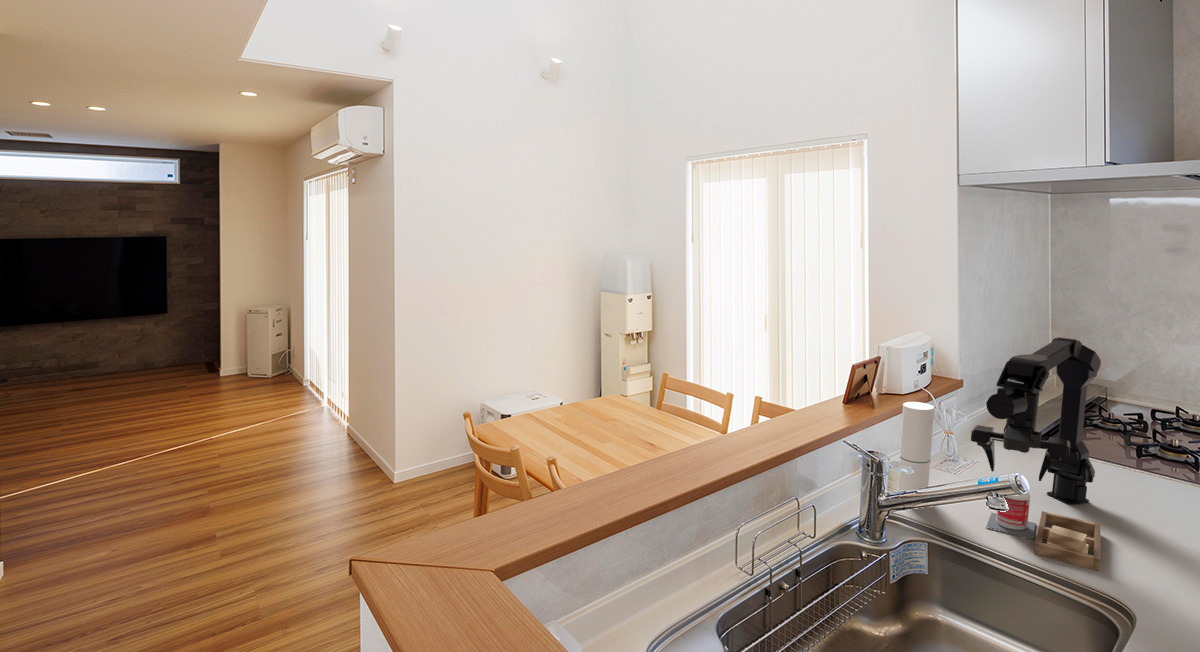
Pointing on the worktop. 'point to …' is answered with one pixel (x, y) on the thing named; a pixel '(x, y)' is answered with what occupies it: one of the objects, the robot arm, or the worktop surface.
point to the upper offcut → (1067, 538)
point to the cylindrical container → (916, 444)
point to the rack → (1067, 554)
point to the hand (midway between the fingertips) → (1015, 475)
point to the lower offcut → (1069, 548)
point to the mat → (1022, 533)
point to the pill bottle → (1015, 512)
